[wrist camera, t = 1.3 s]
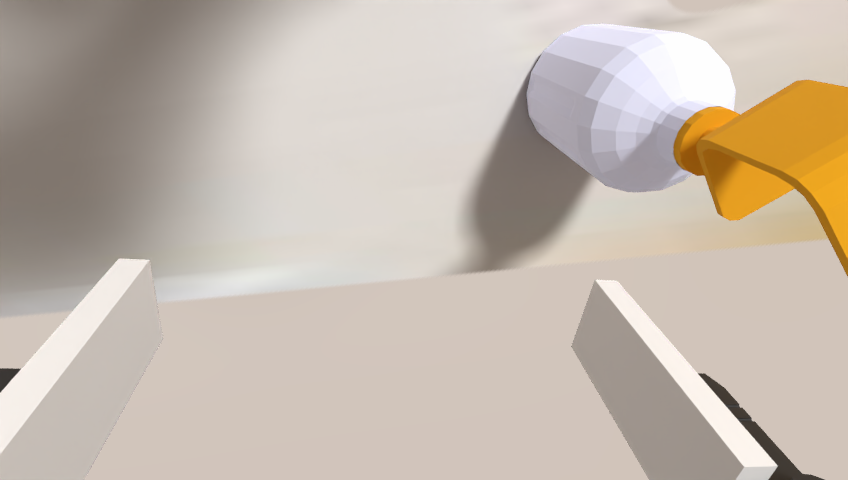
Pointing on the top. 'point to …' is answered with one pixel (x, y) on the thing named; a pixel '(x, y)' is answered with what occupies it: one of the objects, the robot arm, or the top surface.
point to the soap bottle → (690, 123)
